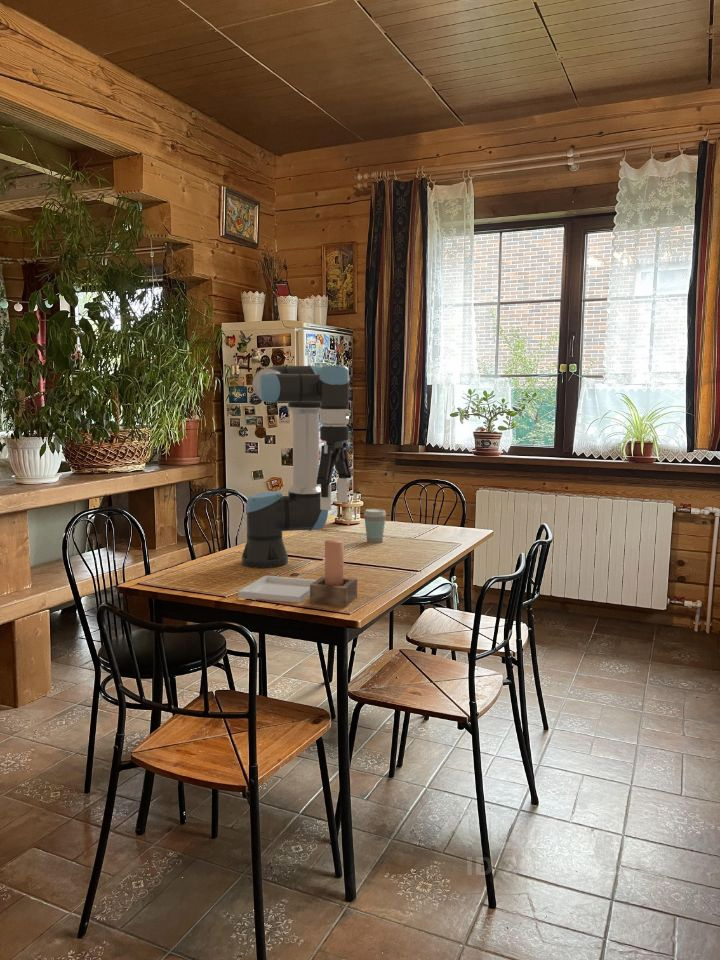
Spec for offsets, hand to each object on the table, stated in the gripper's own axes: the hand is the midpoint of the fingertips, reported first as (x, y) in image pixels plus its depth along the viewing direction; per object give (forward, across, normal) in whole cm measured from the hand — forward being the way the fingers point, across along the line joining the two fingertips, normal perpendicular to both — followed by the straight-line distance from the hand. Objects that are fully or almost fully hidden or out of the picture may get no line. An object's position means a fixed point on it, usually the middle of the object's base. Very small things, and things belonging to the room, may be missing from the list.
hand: (334, 505), depth 195 cm
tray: (+27, +4, +17) cm, 32 cm away
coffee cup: (+27, +82, +12) cm, 87 cm away
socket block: (+27, 0, 0) cm, 27 cm away
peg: (+26, 0, 0) cm, 26 cm away
